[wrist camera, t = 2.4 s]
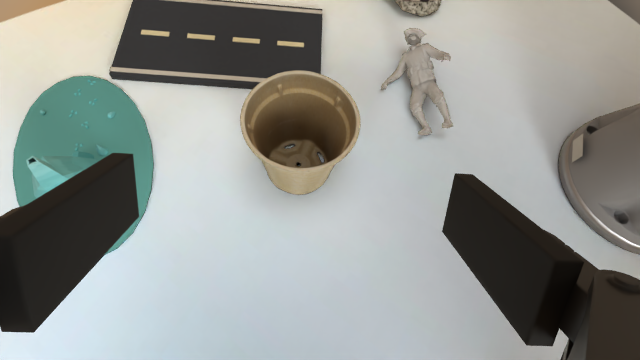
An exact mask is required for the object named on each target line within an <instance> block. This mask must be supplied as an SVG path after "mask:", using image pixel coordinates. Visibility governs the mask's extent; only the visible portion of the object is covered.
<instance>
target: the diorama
mask: <svg viewBox="0 0 640 360" xmlns="http://www.w3.org/2000/svg"><path fill="white" fill-rule="evenodd" d="M111 153H128V154H133V158H134V168H135V178H136V189H137V199H138V209H139V217H138V219H137V220H136V221H135V222H134V223H133V224H132V225H131V226H130V227H129V228H128V230H127V231H126V232H125V233H124V234H123V235H122V236H121V237H120V238H119V239H118V241H117V242H116V243H115V244H114V245H113V246H112V247H111V248H110V249H109V250H108V251H107V253H109V252H111V251H113V250H115V249H117V248H118V247H119V246H120V245H121V244H122V243H123V242H124V241H125V240H126V239H127V238H128V237H129V236H130V235H131V234H132V233H133V232H134V230H135V228H136V227H137V225H138V223H139V221H140V219H141V218H142V216H143V214H144V212H145V209H146V206H147V203H148V199H149V196H150V193H151V189H152V178H153V166H154V165H153V156H152V147H151V140H150V137H149V134H148V131H147V128H146V124H145V121H144V119H143V118H142V116H141V114H140V112H139V111H138V109H137V107H136V105H135V104H134V102H133V101H132V100H131V99H130V98H129V97H128V96H127V95H126V94H125V93H124V92H123V91H122V90H121V89H120V88H118V87H117V86H115V85H113V84H112V83H110V82H108V81H107V80H104V79H100V78H96V77H92V76H78V77H71V78H69V79H66V80H63V81H61V82H58V83H56V84H55V85H53V86H52V87H50V88H49V89H48V90H46V91H45V92H43V93H42V94H41V95H40V97H39V98H38V99H37V100H36V101H35V103H34V104H33V105H32V106H31V107H30V109H29V111H28V113H27V115H26V117H25V119H24V121H23V124H22V126H21V128H20V131H19V135H18V138H17V142H16V145H15V149H14V162H13V179H14V184H15V190H16V196H17V201H18V203H19V206H20V207H21V206H24V205H27V204H28V203H30V202H32V201H33V200H35V199H37V198H38V197H40V196H42V195H43V194H45V193H47V192H48V191H50V190H52V189H53V188H55V187H57V186H58V185H60V184H62V183H63V182H65V181H67V180H68V179H70V178H72V177H73V176H75V175H77V174H78V173H80V172H82V171H83V170H85V169H87V168H88V167H90V166H92V165H93V164H95V163H96V162H98V161H100V160H101V159H103V158H105V157H106V156H108V155H110V154H111ZM107 253H106V254H107Z"/></svg>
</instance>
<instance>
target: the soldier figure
mask: <svg viewBox="0 0 640 360" xmlns="http://www.w3.org/2000/svg"><path fill="white" fill-rule="evenodd" d="M404 34H405V40H406V41H407V45H408V44H410V45H412V46H410V47H409V49H408V51H407V52H405V53H404V54H402V58H401V60H400V63H399V66H398V68H397V69H396V71H395V72H394V73H393V74H392V75H391V76H390V77H389V78H388V79H387V80H386V81H385V82H384V83H383V84H382V86H381V89H383V86H384V89H386V87H387V85H388V84H389V83H392V82H393V81H395V80H397V79H398V78H399V77H400V76H401V75H402V74H403V73H404V72H405V70H406V69H407V67H408V70H407V75H408V78H410V80H411V86H412V89H413V92H412V95H411V99H410V109H411V110H412V112H413V113H412V115H414V116H415V117H416V118H417V119H418V121H419V122H420V124H421V125H422V127H423V128H422V130H420V131H418V134H419V135H429V134H431V133H432V131H431V128H430V127H429V125H428V123H427V121H426V119H425V116H424V113H423V110H422V105H423V103H424V99H425V98H426V96H427V95H428V96H429V97H430V98H431V100H432V102H433V103H434V104H436V107H438V109H439V111H440V113H441V114H442V115H443V117H444V123H442V128H450V127H453V123H452V121H451V120H450V115H449V112H448V108H447V104H446V101H445V98H444V95H443V92H442V91H441V90H440V89H439V87H438V86H437V85H436V79H435V77H434V74H433V72H432V69H433V68H434V67H433V64H432V61H430V57H432V58H435V59H437V60H441V62H442V61H443V60H449V61H450V59H451V57H450V55H449V54H448V53H445V52H443V51H440V50H438V49H436V48H434V47H432V46H431V45H429V44H428V43H426V44H422V45H420V44H421V43H420V42H421V37H423V36H424V35H426V33H424V32H423V31H422V30H420V29H416V28H409V29H407V30H405V31H404Z"/></svg>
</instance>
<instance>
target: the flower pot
mask: <svg viewBox="0 0 640 360" xmlns="http://www.w3.org/2000/svg"><path fill="white" fill-rule="evenodd" d="M240 124H241V130H242V134H243V137H244V139H245V141H246V143H247V145H248V146H249V148H250V149H251V150H252V152H253V153H254V154H255V155H256V156H257V157H258V158H259V159H261V160H262V162H263V164H264V166H265V168H266V170H267V173H268V176H269V178H270V180H271V181H272V182H273V184H274V185H275V186H276V187H278V188H279V189H281V190H283V191H286V192H288V193H291V194H296V195H300V194H307V193H310V192H313V191H315V190H316V189H318V188H319V187H321V186H322V185H323V183H324V182H325V181H326V179H327V178H328V176H329V174H330V172H331V170H332V168H333V167H334V165H335V164H336V163H338V162H339V161H341V160H342V159H343V158H344V157H345V156H346V155H347V154H348V153H349V152H350V151H351V149H352V148H353V146H354V145H355V143H356V141H357V138H358V135H359V131H360V115H359V111H358V108H357V106H356V103H355V101H354V100H353V98H352V97H351V95H350V94H349V93H348V92H347V91H346V90H345V89H344V88H343V87H342V86H341V85H340V84H338V83H337V82H336V81H334V80H332V79H331V78H329V77H326V76H324V75H321V74H318V73H315V72H311V71H302V70H300V71H298V70H296V71H295V70H294V71H287V72H282V73H278V74H276V75H273V76H271V77H269V78H267V79H265V80H263V81H262V82H260V83H259V84H258V85H257V86H256V87H254V88H253V90H252V91H251V92H250V93H249V95H248V96H247V98H246V99H245V102H244V104H243V106H242V110H241V116H240ZM291 144H294V145H295V146H294V147H291V149H290V148H288V149H285V148H284V147H286V146H288V145H291ZM318 152H319V153H320V154H321V155H322V156H323V158H324V163H322V162H321V160H320V158H319V156H318V154H317V153H318ZM296 163H300V164H301V165H300V166H298V165H296Z"/></svg>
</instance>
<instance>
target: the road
mask: <svg viewBox="0 0 640 360" xmlns="http://www.w3.org/2000/svg"><path fill="white" fill-rule="evenodd" d="M321 37H322V9H313V8H302V7H290V6H279V5H268V4H256V3H245V2H233V1H222V0H133V2H132V5H131V8H130V11H129V14H128V17H127V20H126V23H125V27H124V30H123V33H122V36H121V39H120V42H119V45H118V48H117V51H116V54H115V58H114V61H113V64H112V67H110V73H109V74H110V76H111V77H112V79H122V80H136V81H150V82H164V83H178V84H191V85H205V86H219V87H233V88H247V89H253V88H254V87H256V86H257V85H258V84H259V83H260V82H262V81H263V80H265V79H267V78H269V77H271V76H273V75H276V74H278V73H282V72H287V71H294V70H295V71H296V70H298V71H300V70H302V71H311V72H315V73H318V74H321Z"/></svg>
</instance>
